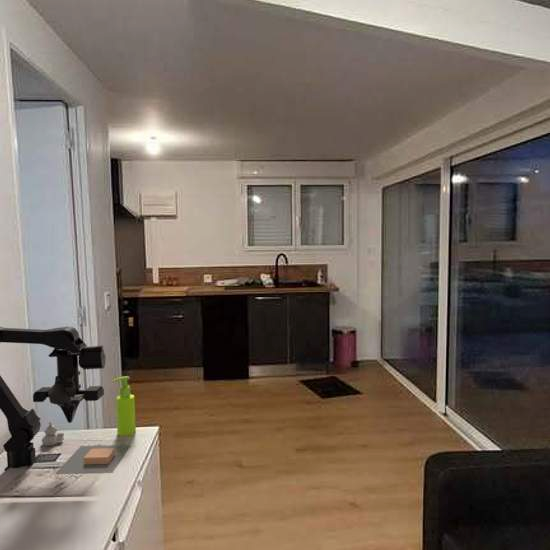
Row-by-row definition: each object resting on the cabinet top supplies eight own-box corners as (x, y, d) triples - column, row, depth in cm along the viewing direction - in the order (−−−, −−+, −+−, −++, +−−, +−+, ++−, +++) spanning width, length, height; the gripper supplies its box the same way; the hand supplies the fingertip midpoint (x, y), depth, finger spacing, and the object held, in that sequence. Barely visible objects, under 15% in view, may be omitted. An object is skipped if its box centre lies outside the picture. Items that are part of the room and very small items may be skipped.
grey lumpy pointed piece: (43, 443, 153) (42, 419, 152) (65, 440, 155) (64, 416, 154) (40, 450, 147) (39, 425, 147) (63, 447, 149) (62, 422, 149)
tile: (83, 457, 135) (107, 457, 135) (91, 448, 141) (114, 448, 141) (83, 464, 135) (108, 464, 135) (91, 455, 141) (114, 455, 141)
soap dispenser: (111, 435, 158) (109, 377, 157) (131, 429, 163) (128, 373, 161) (119, 440, 154) (116, 380, 152) (138, 434, 158) (136, 376, 157)
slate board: (54, 476, 130) (54, 473, 130) (80, 448, 148) (80, 446, 148) (112, 475, 130) (112, 472, 130) (131, 447, 148) (131, 445, 148)
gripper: (21, 378, 129) (24, 434, 130) (89, 377, 129) (91, 432, 130) (41, 368, 140) (43, 419, 141) (103, 367, 141) (105, 417, 142)
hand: (70, 422), depth 138 cm, fingers closed
